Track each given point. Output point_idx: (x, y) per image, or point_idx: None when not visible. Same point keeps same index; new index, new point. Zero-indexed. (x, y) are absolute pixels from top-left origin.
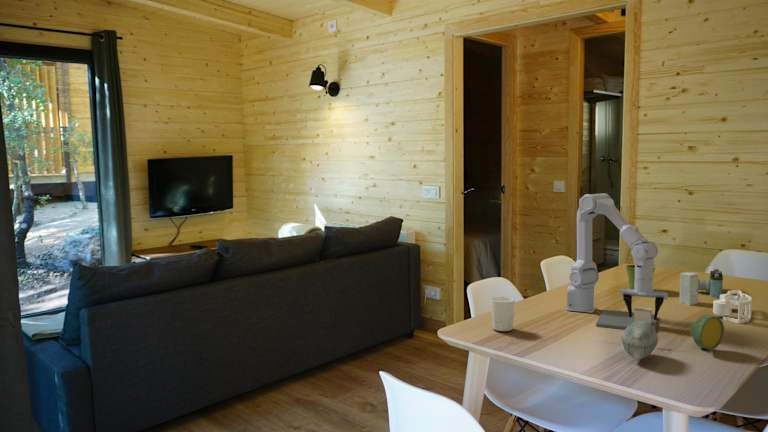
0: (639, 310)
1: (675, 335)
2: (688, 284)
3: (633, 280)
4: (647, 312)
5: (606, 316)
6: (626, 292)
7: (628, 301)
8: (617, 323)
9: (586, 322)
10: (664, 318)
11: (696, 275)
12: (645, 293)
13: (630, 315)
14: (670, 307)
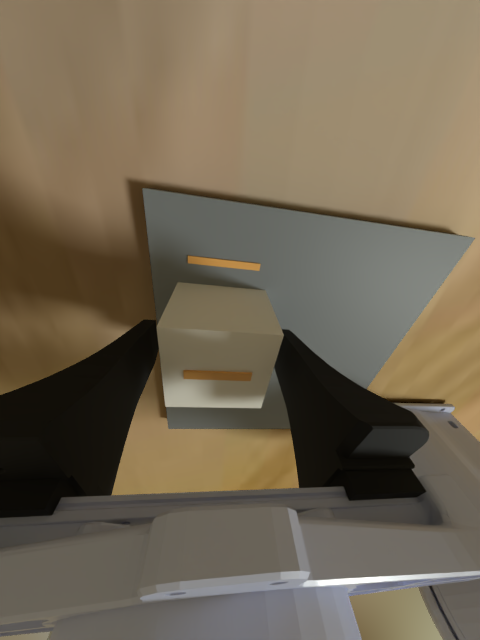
0: (242, 354)
1: (8, 159)
2: None
3: None
4: (185, 327)
5: (358, 367)
6: (436, 532)
7: (358, 402)
8: (349, 274)
9: (463, 294)
10: (146, 417)
11: (49, 638)
12: (160, 598)
13: (288, 333)
14: (149, 485)
